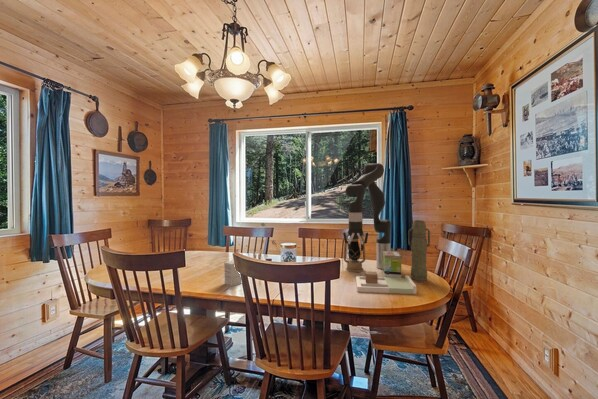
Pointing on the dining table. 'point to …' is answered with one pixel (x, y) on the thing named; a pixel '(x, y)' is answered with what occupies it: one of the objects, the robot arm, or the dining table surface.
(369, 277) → the walnut block
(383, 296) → the dining table surface
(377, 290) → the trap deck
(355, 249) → the lantern
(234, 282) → the supplement box
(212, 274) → the dining table surface
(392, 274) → the tea box
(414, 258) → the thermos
